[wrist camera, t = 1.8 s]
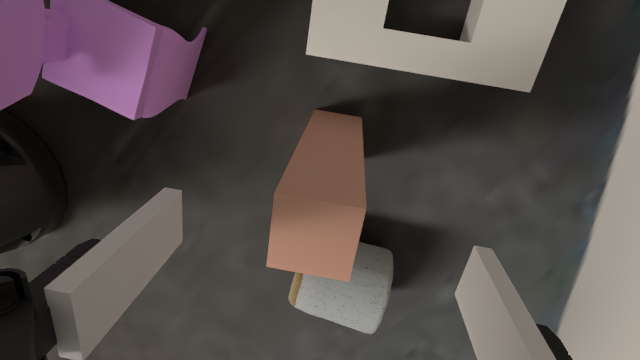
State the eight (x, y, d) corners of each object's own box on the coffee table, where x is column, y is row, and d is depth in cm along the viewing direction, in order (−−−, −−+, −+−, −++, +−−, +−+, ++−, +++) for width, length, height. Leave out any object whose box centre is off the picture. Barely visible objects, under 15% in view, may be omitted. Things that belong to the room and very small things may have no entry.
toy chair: (188, 112, 31) (55, 184, 17) (92, 67, 30) (-128, 104, 16) (217, 18, 28) (80, 15, 14) (109, -36, 27) (-149, -97, 13)
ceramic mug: (309, 213, 34) (296, 264, 27) (391, 233, 34) (400, 290, 27) (289, 294, 38) (273, 355, 32) (361, 311, 38) (362, 377, 32)
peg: (308, 153, 31) (266, 266, 17) (315, 109, 30) (274, 192, 15) (352, 161, 31) (349, 282, 17) (361, 117, 30) (366, 209, 15)
